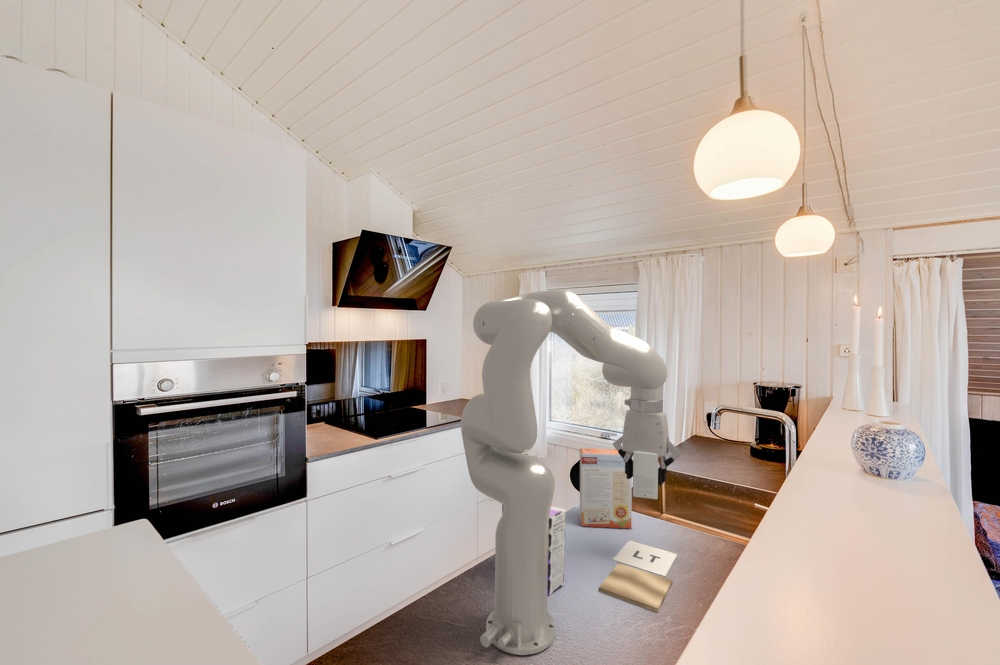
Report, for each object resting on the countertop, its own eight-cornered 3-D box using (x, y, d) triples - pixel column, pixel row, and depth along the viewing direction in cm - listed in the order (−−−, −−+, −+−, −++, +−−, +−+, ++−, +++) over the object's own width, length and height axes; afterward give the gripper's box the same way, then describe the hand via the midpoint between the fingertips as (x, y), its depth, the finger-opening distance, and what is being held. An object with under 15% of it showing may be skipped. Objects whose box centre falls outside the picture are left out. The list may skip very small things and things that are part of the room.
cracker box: (627, 520, 125) (628, 448, 126) (631, 530, 119) (632, 454, 120) (578, 518, 127) (579, 447, 127) (580, 527, 121) (581, 452, 121)
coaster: (657, 612, 84) (657, 608, 84) (598, 591, 91) (599, 587, 91) (672, 583, 94) (672, 580, 94) (618, 566, 100) (618, 562, 100)
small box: (657, 500, 99) (658, 454, 99) (632, 497, 100) (633, 451, 101) (656, 489, 106) (657, 446, 106) (633, 486, 108) (633, 444, 108)
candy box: (499, 571, 98) (500, 498, 98) (516, 561, 102) (517, 491, 102) (549, 597, 88) (550, 516, 88) (565, 585, 93) (566, 508, 93)
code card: (665, 576, 96) (665, 576, 96) (613, 560, 103) (613, 559, 103) (677, 554, 106) (677, 553, 106) (629, 540, 113) (629, 540, 113)
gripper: (606, 404, 105) (604, 477, 105) (681, 412, 96) (680, 493, 95) (616, 401, 112) (615, 470, 111) (688, 408, 102) (686, 484, 102)
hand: (645, 480), depth 103 cm, fingers closed on small box, 6 cm apart
